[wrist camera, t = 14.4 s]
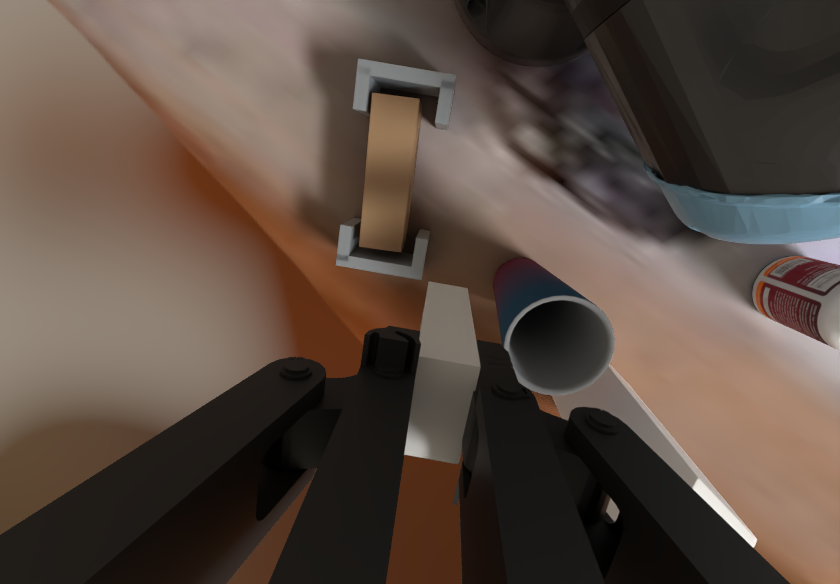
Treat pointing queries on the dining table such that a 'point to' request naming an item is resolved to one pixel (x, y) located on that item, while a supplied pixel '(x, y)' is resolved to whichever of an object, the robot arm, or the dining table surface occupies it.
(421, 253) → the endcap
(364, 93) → the grey u-shaped bracket
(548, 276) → the cup
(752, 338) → the dining table surface
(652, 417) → the milk
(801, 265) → the pill bottle
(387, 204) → the slat
